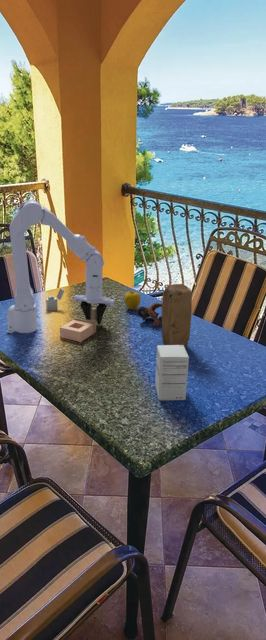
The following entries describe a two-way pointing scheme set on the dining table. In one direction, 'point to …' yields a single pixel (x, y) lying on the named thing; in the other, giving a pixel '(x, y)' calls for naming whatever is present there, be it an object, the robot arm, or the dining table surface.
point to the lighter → (53, 301)
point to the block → (176, 314)
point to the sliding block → (76, 330)
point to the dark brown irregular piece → (150, 313)
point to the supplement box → (171, 372)
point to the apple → (132, 300)
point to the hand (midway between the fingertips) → (94, 322)
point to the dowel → (94, 315)
